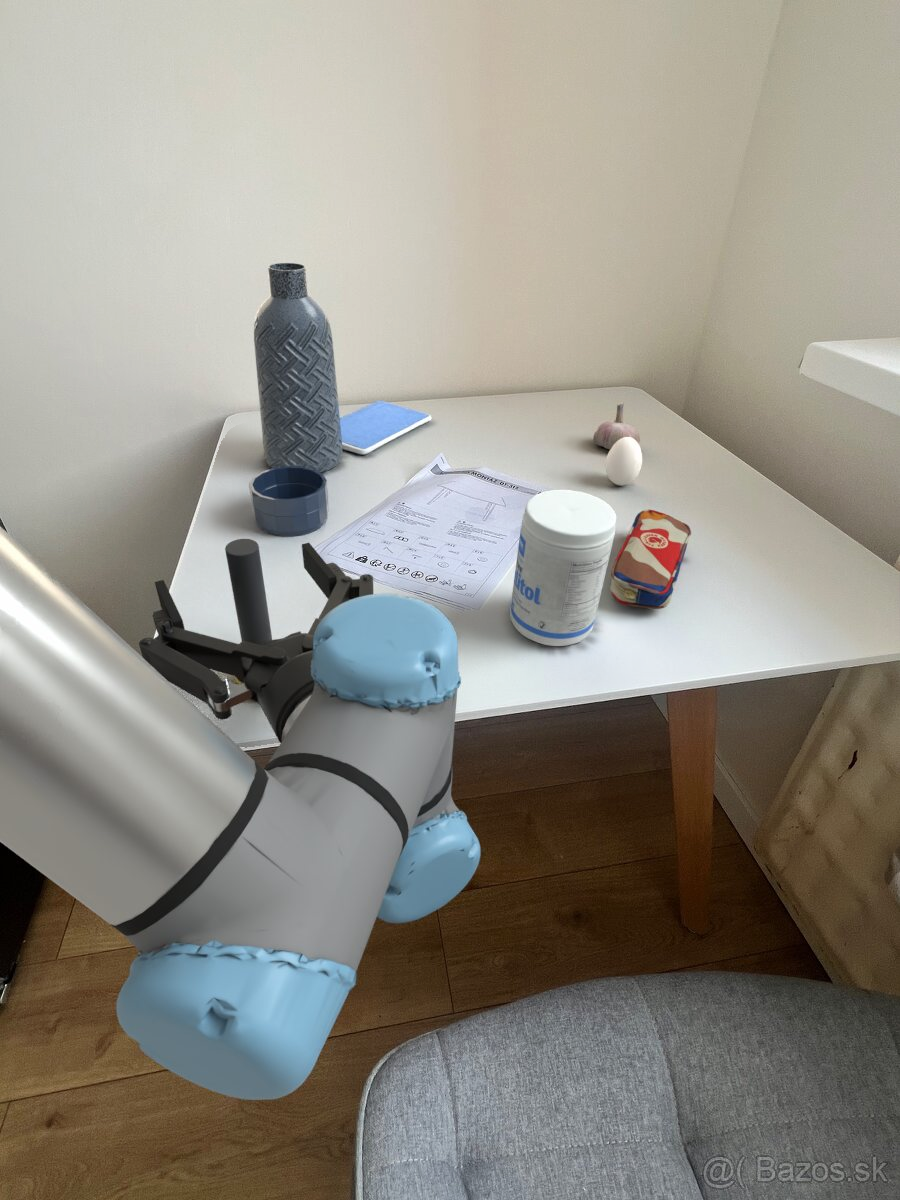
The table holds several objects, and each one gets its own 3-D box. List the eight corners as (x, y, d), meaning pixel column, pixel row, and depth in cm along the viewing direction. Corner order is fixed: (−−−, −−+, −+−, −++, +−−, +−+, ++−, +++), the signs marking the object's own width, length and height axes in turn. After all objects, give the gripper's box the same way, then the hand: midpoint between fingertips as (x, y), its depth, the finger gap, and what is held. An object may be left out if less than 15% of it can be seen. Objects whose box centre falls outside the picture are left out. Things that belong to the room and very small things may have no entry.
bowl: (240, 517, 96) (234, 481, 92) (300, 494, 102) (296, 459, 98) (283, 545, 90) (278, 508, 87) (343, 519, 96) (341, 483, 93)
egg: (626, 474, 111) (635, 429, 107) (643, 490, 107) (653, 443, 102) (596, 478, 110) (604, 432, 105) (612, 493, 106) (621, 446, 101)
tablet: (364, 458, 112) (364, 450, 112) (307, 437, 118) (306, 430, 117) (433, 422, 125) (434, 415, 125) (379, 405, 131) (378, 398, 130)
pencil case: (716, 557, 92) (727, 525, 89) (653, 628, 79) (663, 592, 76) (640, 529, 97) (647, 497, 94) (569, 590, 85) (575, 556, 82)
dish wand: (235, 681, 70) (208, 545, 60) (269, 663, 72) (249, 529, 63) (257, 702, 67) (233, 564, 58) (292, 683, 70) (274, 547, 60)
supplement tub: (492, 613, 80) (503, 500, 72) (555, 589, 85) (573, 480, 76) (546, 661, 74) (565, 543, 65) (611, 633, 78) (637, 518, 70)
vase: (346, 474, 107) (335, 276, 91) (265, 478, 105) (239, 276, 88) (339, 442, 117) (329, 257, 100) (265, 445, 115) (241, 257, 98)
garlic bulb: (584, 443, 120) (591, 398, 116) (616, 436, 123) (625, 392, 119) (612, 460, 115) (621, 414, 110) (645, 453, 118) (656, 407, 113)
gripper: (161, 822, 47) (104, 645, 62) (469, 697, 58) (360, 571, 73) (136, 747, 43) (81, 575, 57) (475, 628, 54) (358, 508, 68)
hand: (237, 573), depth 65 cm, fingers open, 13 cm apart
